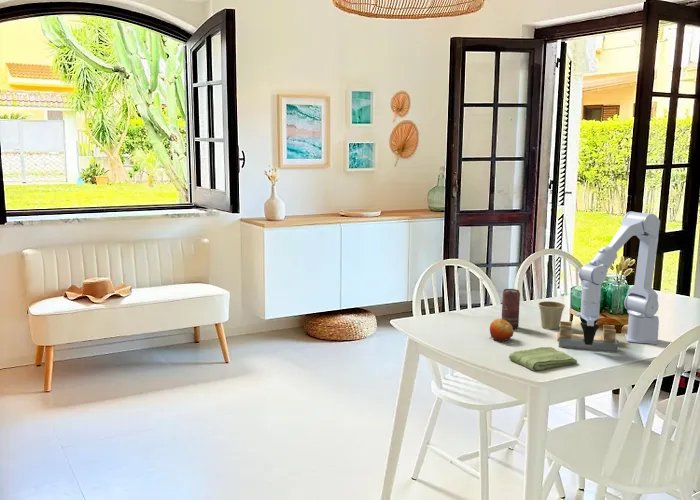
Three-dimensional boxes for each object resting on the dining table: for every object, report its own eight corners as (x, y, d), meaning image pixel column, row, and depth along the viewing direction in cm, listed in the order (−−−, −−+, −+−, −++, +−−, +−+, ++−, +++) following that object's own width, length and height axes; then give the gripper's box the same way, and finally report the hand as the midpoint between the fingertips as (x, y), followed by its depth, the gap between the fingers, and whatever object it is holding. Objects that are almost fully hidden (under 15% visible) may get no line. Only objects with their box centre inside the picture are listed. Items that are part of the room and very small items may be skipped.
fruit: (492, 329, 230) (503, 313, 226) (509, 345, 226) (520, 328, 222) (479, 334, 225) (490, 317, 221) (496, 350, 221) (507, 333, 217)
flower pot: (565, 331, 233) (566, 308, 232) (537, 330, 235) (539, 306, 234) (562, 324, 242) (563, 302, 241) (536, 323, 244) (537, 300, 243)
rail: (616, 350, 213) (616, 341, 213) (617, 353, 211) (617, 344, 210) (558, 345, 218) (559, 336, 218) (558, 348, 216) (559, 339, 215)
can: (512, 331, 234) (514, 292, 232) (497, 327, 239) (499, 289, 236) (522, 327, 238) (524, 290, 236) (507, 324, 242) (509, 287, 240)
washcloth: (579, 365, 199) (579, 355, 199) (534, 373, 192) (534, 363, 191) (549, 353, 211) (549, 343, 210) (505, 360, 203) (505, 350, 203)
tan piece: (615, 339, 224) (616, 325, 223) (617, 346, 217) (618, 331, 216) (557, 334, 229) (558, 320, 228) (557, 340, 222) (558, 326, 221)
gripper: (577, 295, 220) (574, 334, 222) (578, 305, 206) (575, 346, 208) (599, 297, 218) (596, 336, 220) (602, 307, 204) (599, 349, 206)
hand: (588, 341), depth 214 cm, fingers open, 6 cm apart
